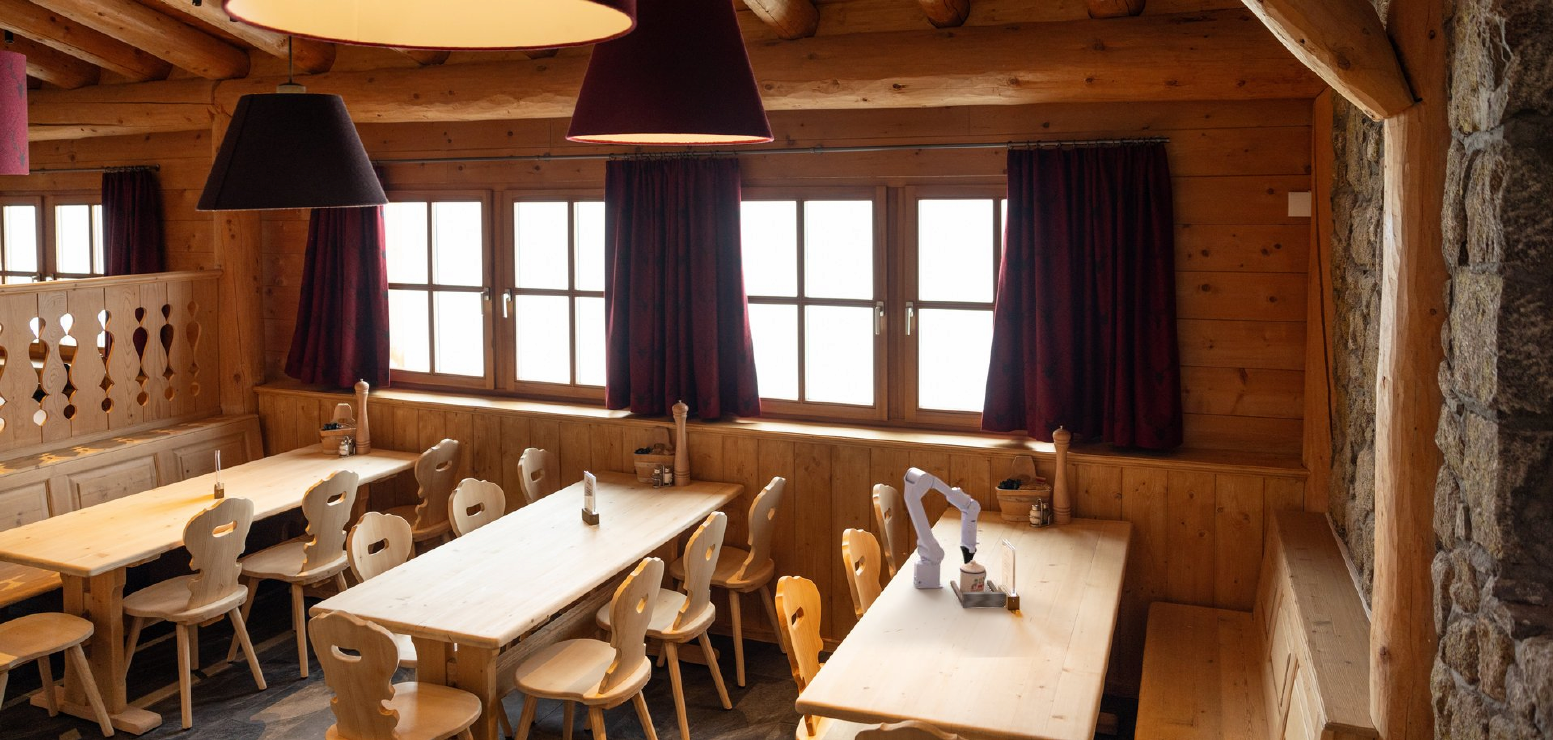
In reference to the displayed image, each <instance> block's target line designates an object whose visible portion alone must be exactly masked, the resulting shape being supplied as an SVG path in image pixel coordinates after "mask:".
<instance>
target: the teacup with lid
mask: <svg viewBox="0 0 1553 740" xmlns="http://www.w3.org/2000/svg"><path fill="white" fill-rule="evenodd" d="M959 570H960V573H959V574H960V575H959V590H960V591H961V593H962V592H985V580H986V579H987V574H988V573H987V570H986V568H985V566H984V565H981V564H978V563H977V562H976V560H974V559H973V560H971V561H970V563H967V564H962V565H960V567H959Z"/></svg>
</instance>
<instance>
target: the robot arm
mask: <svg viewBox="0 0 1553 740" xmlns="http://www.w3.org/2000/svg"><path fill="white" fill-rule="evenodd" d="M903 481H904V491H903V492H904V493H903V499H904V502H905V505H906V507H907V510H908V514H909V516H910V518H911V522H912V524H913V527H914V529H915V531H916V535H917V540H916V545H917V548H916V550H917V554H918V556H919V557H920V558H919V559H920V560H917V561H914V563H913V565H914V566H913V583H914V586H915V587H916V588H917V589H933V588H934V589H942V588H943V584H942V583H941V563H942V562H943V561H944V559H945V550H944V548H942V546H941V545H940V543H939V541H938V540H937V539H936V538H935V536H934V535H933V531H932V529H931V526H930V523H929V520H928V517H927V514H926V512H925V509H924V507H923V502H922V500H921V499H922V497H924V496H925V494H927V492H928V491H929V490H930V489H935V490H937V491H939V492H940V493H941V494H943V495H944V496H945V498H946V500H947V502H948V503H950V504H952V505H953V506H954V507H956V508H957V509H958V510H959V511H960V512H961V521H960V522H961V523H960V541H959V544H960V546H959V549H960V551H961V553H962V558H963V563H964V564H967V563H970V561H971V560H974V557H975V554H976V553H977V551H978V550H977V545H980V541H979V540H977V536H978V535H977V534H978V533H977V532H978V531H977V528H978V517H979V513H980V512H981V509H982V507H981V506H980V503H979V502H978V501H977V500H975V499H974V498H971V497H972V496H971V495H970V494H966V493H965V492H963V489H962V488H960V487H950V486H949V485H948V484H947V483H945V482H944V481H942V480H941V479H940V478H939V477H937V476H935V475H932V474H931V473H929V472H925V471H924V470H921V469H919V468H917V467H910V468H909V469H908V470H907V472H906V473H905V475H904V477H903ZM964 564H963V565H964Z"/></svg>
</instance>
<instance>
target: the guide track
mask: <svg viewBox="0 0 1553 740" xmlns="http://www.w3.org/2000/svg"><path fill="white" fill-rule="evenodd" d="M950 584H951V585H950ZM949 585H950V586H951V588H952V590H953V592H954V594H955V596H956V598H957V597H958V598H957V599H958V601H959V603H960V605H961V607H962V606H963V607H962V608H963V609H972V608H971V607H1004V606H1005V605H1006V606H1007V595H1006V594H1007V592H1006V591H999V590H998V589H997V587H996V586H995V584H994V583H993V581H992V579H991V580H989V579H987V580H986V585H987V587H988V586H989V587H988V588H989V590H990V589H991V590H990V591H984V592H962V593H961V591H960V587H959V586H958V585H957V583H956V581H955V580H950V583H949ZM991 591H992V592H991ZM1005 592H1006V593H1005ZM969 607H970V608H969Z"/></svg>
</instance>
